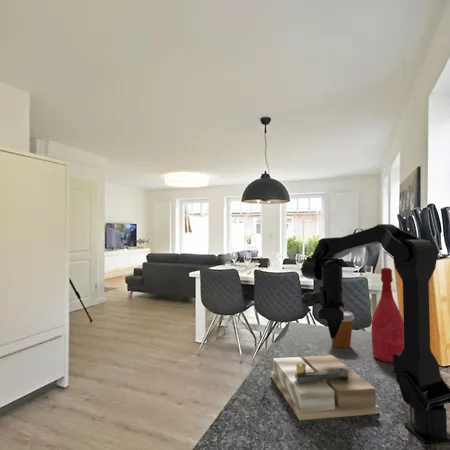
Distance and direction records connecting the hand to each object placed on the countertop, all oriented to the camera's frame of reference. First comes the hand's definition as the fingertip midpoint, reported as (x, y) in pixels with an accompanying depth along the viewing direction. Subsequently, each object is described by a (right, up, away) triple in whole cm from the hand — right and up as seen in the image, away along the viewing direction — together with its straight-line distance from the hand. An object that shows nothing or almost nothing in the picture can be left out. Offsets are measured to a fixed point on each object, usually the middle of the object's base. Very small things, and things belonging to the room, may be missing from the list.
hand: (332, 338), depth 94 cm
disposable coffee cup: (+13, -13, +31) cm, 36 cm away
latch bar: (-7, -6, -12) cm, 15 cm away
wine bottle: (+24, -13, +17) cm, 32 cm away
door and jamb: (-6, -12, -7) cm, 15 cm away
